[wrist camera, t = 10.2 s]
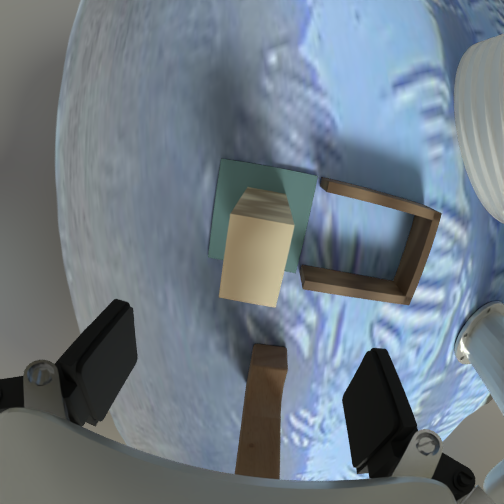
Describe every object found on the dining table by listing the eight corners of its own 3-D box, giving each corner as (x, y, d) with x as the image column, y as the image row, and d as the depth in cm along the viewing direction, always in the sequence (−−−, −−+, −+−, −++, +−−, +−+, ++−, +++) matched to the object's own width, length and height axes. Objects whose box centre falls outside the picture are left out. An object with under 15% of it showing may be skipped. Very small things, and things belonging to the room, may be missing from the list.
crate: (424, 205, 28) (441, 213, 24) (396, 288, 32) (409, 305, 28) (321, 176, 28) (329, 181, 24) (299, 272, 32) (302, 289, 28)
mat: (317, 175, 28) (317, 176, 27) (295, 271, 32) (295, 273, 31) (221, 158, 28) (221, 158, 27) (208, 255, 32) (208, 257, 31)
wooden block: (253, 341, 36) (240, 462, 19) (287, 346, 36) (290, 466, 19) (246, 385, 39) (232, 490, 22) (275, 388, 39) (272, 493, 22)
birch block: (285, 194, 28) (294, 225, 17) (275, 247, 30) (275, 307, 19) (247, 186, 28) (230, 213, 17) (238, 241, 30) (218, 297, 19)
